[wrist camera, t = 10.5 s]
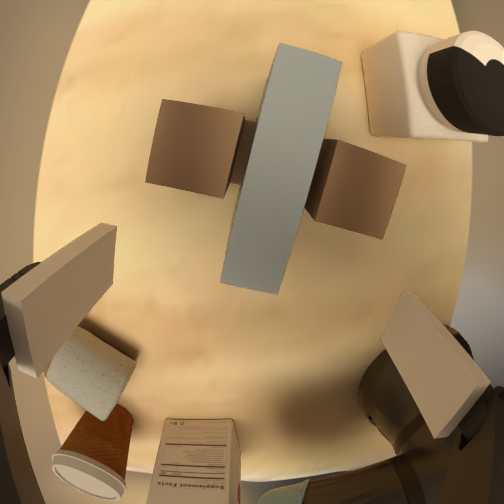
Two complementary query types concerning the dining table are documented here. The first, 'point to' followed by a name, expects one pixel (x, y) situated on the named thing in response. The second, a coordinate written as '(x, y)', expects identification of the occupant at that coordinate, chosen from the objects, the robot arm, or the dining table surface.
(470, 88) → the medicine bottle
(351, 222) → the walnut stand
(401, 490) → the robot arm
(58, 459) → the disposable coffee cup
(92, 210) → the dining table surface
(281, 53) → the slate plate
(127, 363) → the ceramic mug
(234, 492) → the supplement box
